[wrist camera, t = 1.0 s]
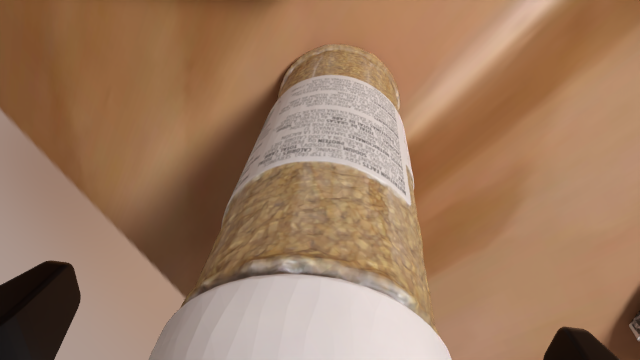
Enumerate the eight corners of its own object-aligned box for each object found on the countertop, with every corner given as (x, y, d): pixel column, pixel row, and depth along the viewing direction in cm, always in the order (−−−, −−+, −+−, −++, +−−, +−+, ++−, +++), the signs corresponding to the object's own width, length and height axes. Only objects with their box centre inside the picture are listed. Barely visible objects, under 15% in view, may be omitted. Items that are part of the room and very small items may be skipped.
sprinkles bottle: (363, 171, 18) (364, 617, 7) (260, 124, 18) (69, 536, 6) (424, 73, 16) (577, 502, 5) (308, 15, 15) (145, 349, 4)
